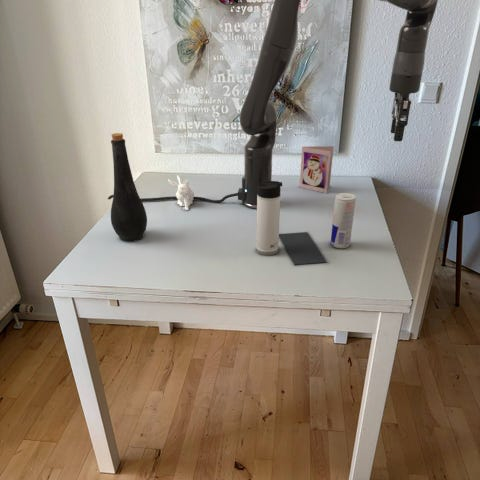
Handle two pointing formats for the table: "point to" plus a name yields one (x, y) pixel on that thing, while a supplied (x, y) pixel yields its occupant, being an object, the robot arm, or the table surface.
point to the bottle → (125, 196)
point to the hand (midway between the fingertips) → (396, 137)
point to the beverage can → (342, 220)
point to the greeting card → (316, 168)
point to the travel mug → (268, 217)
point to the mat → (301, 248)
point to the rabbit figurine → (183, 193)
